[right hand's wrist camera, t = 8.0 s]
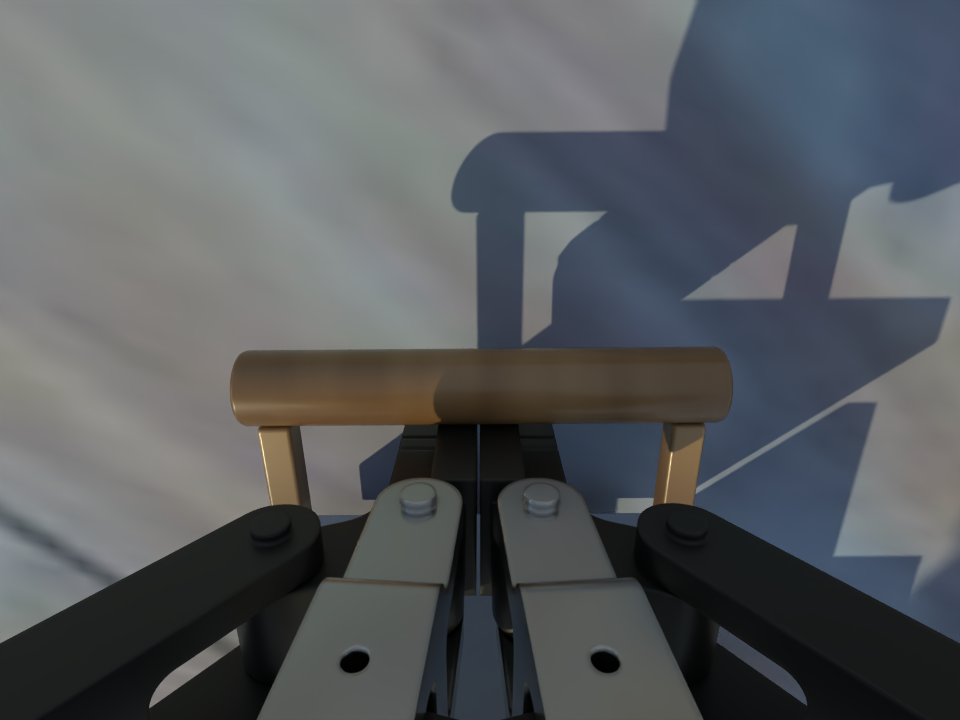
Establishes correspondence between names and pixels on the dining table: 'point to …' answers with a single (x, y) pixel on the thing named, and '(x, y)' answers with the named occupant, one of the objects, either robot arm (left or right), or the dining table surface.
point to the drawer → (481, 400)
